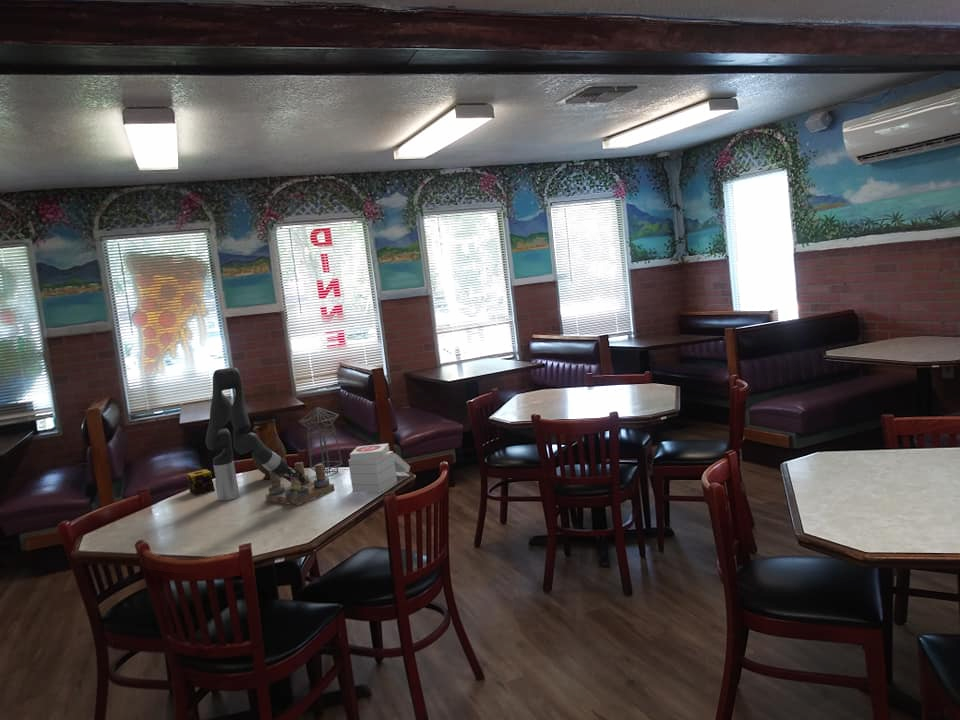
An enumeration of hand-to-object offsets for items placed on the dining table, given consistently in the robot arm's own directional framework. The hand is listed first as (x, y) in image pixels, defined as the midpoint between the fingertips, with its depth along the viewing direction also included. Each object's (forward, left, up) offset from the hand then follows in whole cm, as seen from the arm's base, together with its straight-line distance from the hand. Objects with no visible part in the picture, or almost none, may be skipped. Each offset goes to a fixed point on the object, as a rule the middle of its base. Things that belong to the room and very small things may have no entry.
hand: (297, 480), depth 328 cm
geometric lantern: (-23, +36, -10) cm, 44 cm away
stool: (-7, +6, -9) cm, 13 cm away
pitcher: (-50, +22, -10) cm, 56 cm away
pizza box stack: (+19, +32, -10) cm, 39 cm away
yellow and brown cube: (-70, -5, -10) cm, 71 cm away
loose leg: (0, -1, -6) cm, 7 cm away
